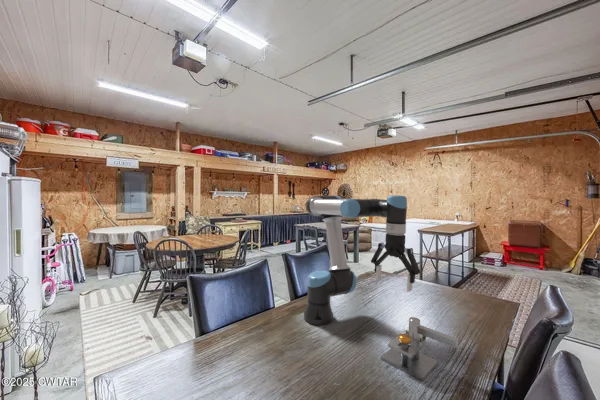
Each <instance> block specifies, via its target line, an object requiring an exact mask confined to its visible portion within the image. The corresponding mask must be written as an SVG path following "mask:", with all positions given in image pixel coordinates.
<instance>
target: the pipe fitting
mask: <svg viewBox="0 0 600 400" xmlns="http://www.w3.org/2000/svg"><path fill="white" fill-rule="evenodd" d="M404 332H405V334H407V335H409V326H407V327H405V331H404ZM426 340H427V337H426V336H424V335H421V334H420V343H422V344H425V342H426Z"/></svg>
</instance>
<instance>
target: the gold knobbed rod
mask: <svg viewBox="0 0 600 400" xmlns="http://www.w3.org/2000/svg"><path fill="white" fill-rule="evenodd" d="M398 336H399V341H400V342H401V347H402V348H404V349H406V350H407V349H408V344H409V343H411V337H410V336H409V335H407V334H406V333H399V334H398ZM401 365H402V366H405V367H406V366H408V356H406V355H404V354H402V353H401Z"/></svg>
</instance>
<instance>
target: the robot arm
mask: <svg viewBox="0 0 600 400" xmlns="http://www.w3.org/2000/svg"><path fill="white" fill-rule="evenodd" d="M407 200H408V198H407V196H405V195H392V194H390V195H389V194H388V195H387V199H380V198H361V199H360V198H343V197H341V196H338V195H313V196H310V197H309V198H308V199H307V200H306V203H305V210H306V211H307V213H308V214H309V215H311V216H314V217H321V218H322V219H321V220H322V221H323V222H324V223H325V230H326V238H327V245H328V252H329V260H330V261H329V262H330V267H329V268H328V270H324V269H323V270H315V271H313V272H310V274H308V276H307V303H306V306H305V308H304V309H305V310H304V313H303V320H304V321H306V323H308V324H311V325H315V326H326V325H329V324H330V323H332V322H333V321H334V312H333V311H332V310H333V309H332V306H331V297H336V296H341V295H342V296H343V295H347V294H351V293H353V291H355V289H356V287H357V276H356V274H355V272H353V270H352V269H351V267H350V266H349V265H348V264H347V256H346V250H345V242H344V237H343V235H344V234H343V229H342V222H341V221H342V220H343V218H352V219H353V218H369V217H371V218H372V217H373V218H374V217H375V218H376V217H377V218H378V217H380V218H386V221H385V232H386V233H385V242H383V241H382V242H378V245H377V248H376V251H375V252H374V254H373V256H372V257H371V260H370V263H371V264H374V272H375V273H376V275H375V281H376V282H380V281H382V267H383V266H382V264H381V263H383V262H384V260H386V259H387V258H388V257H389V256H390V257H394V258H398V259H399V260H400V261H401V263H402V264H403V265H404V267H405V269H406V270H407V271H408V273H407V282H406V292H411V291H413V284H415V282H416V275H419V274H421V270H420V266H419V265H418V264H419V263H418V262H417V260H416V257H415V255H414V249H413V248H412V247H410V248H406V245H405V244H406V235H405V234H406V232H407V229H406V228H407V227H406V226H407V210H408V201H407ZM384 249H385V251H384V252H383V250H384ZM382 252H383V254H382ZM381 254H382V255H381ZM406 254H407V256H406ZM380 255H381V256H380ZM407 258H408V259H407Z"/></svg>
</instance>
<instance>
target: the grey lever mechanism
mask: <svg viewBox="0 0 600 400" xmlns="http://www.w3.org/2000/svg"><path fill="white" fill-rule="evenodd" d="M408 327H409V336H410V337H411V343H409V344H408V349H407V350H406V349H404V348H402V347H401V342H400V341H399V335H398V336H396V337H395V338H394V339H393V340H391V341H389V342H388V343H387V347H388V348H389V349H388V350H387V351H386V352H384V353H383V354H382V355H381V356H380V360H382V361H383V362H385V363H387V364H389V365H391V366H393V367H395V368H396V369H399V370H400V371H402V372H404V373H406V374H408V375H409V376H412V377H414V378H415V379H418V380H419V381H420V382H424V381H425V380H426V379H427V377H429V375H430V374H431V373H432V372H433V371H434V369H436V367H437V366H438V365H439V360H437V359H435V358H432V357H430V356H427V355H425V354H423V353H422V352H420V351H422V350H423V349H424V348H425V347H424V346H425V343H421V342H420V334H421V335H424V336H426V338H429V339H430V340H434V341H437V342H439V343H441V344H444V345H447V346H449V347H452V348H454V349H457V348H458V347H459V338H457V337H454V336H452V335H449V334H446V333H443V332H440V331H438V330H436V329H433V328H430V327H427V326H425V325H422V324H421V319H419V318H418V317H414V316H412V317H409V318H408ZM401 353H402V354H404V355H406V356H408V366H406V367H405V366H402V365H401Z"/></svg>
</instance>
